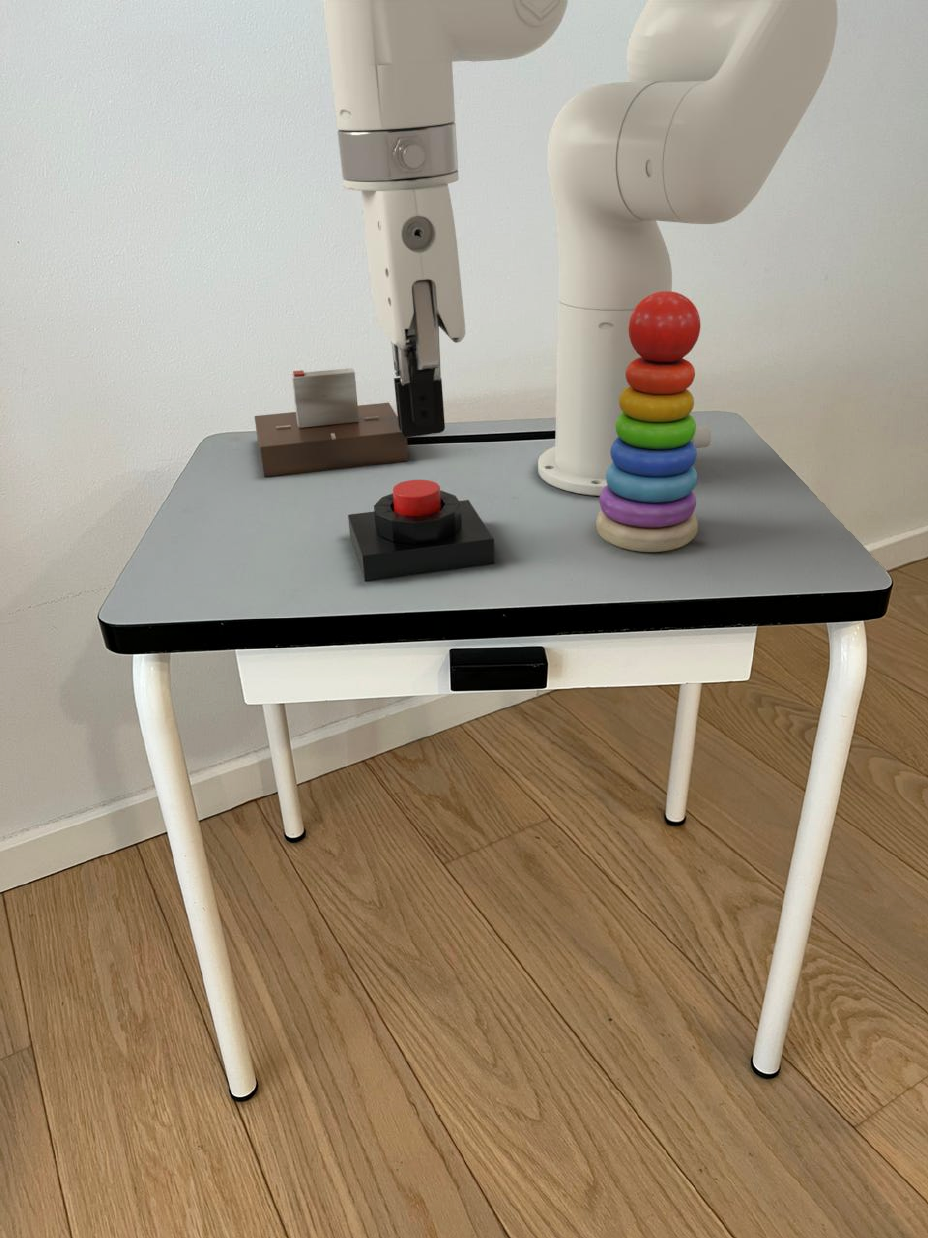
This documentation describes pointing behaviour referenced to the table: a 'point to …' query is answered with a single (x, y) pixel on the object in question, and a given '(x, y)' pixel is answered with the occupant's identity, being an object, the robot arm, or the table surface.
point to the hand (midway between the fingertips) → (421, 430)
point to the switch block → (419, 539)
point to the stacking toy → (654, 433)
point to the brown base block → (330, 442)
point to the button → (416, 497)
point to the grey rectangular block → (325, 397)
